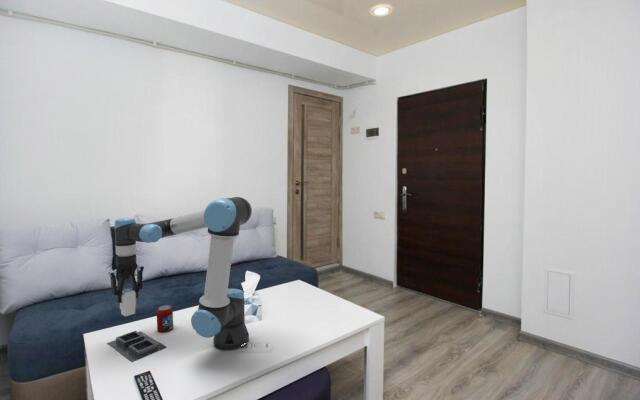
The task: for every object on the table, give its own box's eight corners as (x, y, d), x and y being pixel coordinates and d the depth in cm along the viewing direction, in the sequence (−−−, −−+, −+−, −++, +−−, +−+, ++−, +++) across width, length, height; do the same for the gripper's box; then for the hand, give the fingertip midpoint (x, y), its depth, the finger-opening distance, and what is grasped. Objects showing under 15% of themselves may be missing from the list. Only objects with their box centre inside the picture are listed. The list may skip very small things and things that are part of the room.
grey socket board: (167, 350, 139) (167, 342, 138) (132, 366, 127) (131, 357, 127) (140, 334, 153) (140, 326, 153) (106, 346, 142) (106, 338, 142)
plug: (135, 313, 143) (134, 289, 143) (125, 316, 140) (124, 291, 139) (131, 311, 146) (130, 287, 145) (121, 314, 143) (120, 289, 142)
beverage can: (167, 336, 151) (166, 311, 150) (154, 335, 152) (153, 309, 151) (176, 330, 157) (175, 305, 156) (163, 328, 159) (162, 304, 158)
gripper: (142, 249, 150) (144, 300, 152) (99, 256, 137) (102, 312, 138) (150, 252, 145) (152, 304, 147) (107, 259, 132) (109, 316, 134)
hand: (128, 307), depth 143 cm, fingers closed on plug, 4 cm apart
